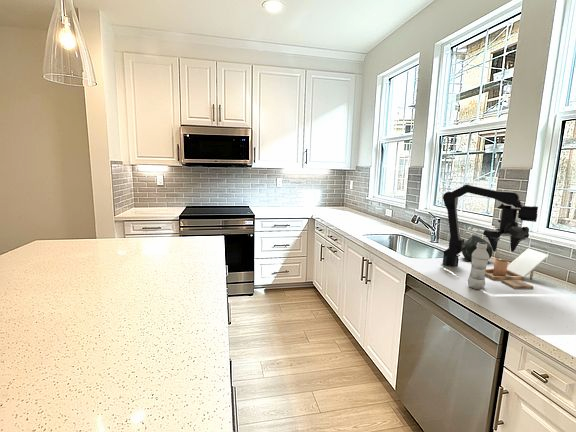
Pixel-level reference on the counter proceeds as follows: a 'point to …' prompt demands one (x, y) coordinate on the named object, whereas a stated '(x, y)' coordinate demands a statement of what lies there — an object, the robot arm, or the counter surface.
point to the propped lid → (527, 262)
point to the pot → (500, 267)
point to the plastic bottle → (478, 266)
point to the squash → (474, 247)
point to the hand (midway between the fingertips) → (503, 251)
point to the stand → (517, 284)
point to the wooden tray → (508, 276)
